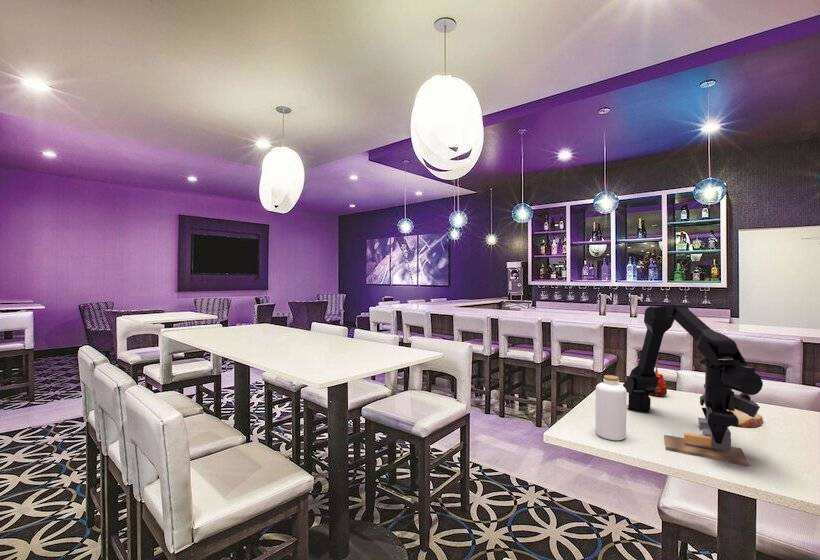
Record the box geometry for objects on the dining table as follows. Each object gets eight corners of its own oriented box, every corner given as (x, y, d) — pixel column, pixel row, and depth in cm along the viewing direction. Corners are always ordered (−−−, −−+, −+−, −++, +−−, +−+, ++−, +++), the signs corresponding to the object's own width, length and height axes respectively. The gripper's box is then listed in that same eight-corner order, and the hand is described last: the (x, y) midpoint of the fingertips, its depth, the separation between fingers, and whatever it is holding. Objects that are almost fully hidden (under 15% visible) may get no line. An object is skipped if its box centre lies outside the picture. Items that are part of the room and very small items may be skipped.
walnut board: (665, 449, 110) (665, 446, 110) (664, 437, 119) (664, 434, 119) (749, 466, 101) (749, 463, 101) (741, 451, 110) (741, 448, 110)
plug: (685, 443, 110) (685, 425, 110) (683, 437, 114) (683, 420, 114) (730, 451, 105) (730, 432, 105) (727, 445, 109) (727, 427, 109)
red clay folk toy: (643, 395, 161) (644, 358, 161) (647, 391, 166) (647, 355, 166) (665, 398, 156) (666, 361, 156) (668, 394, 161) (669, 358, 161)
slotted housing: (704, 442, 115) (704, 434, 115) (698, 424, 129) (698, 417, 129) (730, 447, 112) (731, 438, 112) (721, 428, 126) (721, 420, 126)
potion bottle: (614, 443, 114) (615, 381, 114) (589, 433, 121) (590, 375, 121) (632, 438, 118) (633, 378, 118) (607, 428, 125) (607, 372, 125)
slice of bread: (737, 409, 145) (737, 399, 145) (787, 428, 127) (787, 417, 127) (691, 410, 144) (691, 400, 144) (734, 429, 126) (734, 417, 126)
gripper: (765, 397, 96) (764, 461, 96) (748, 380, 112) (747, 434, 112) (708, 390, 102) (707, 450, 102) (700, 374, 118) (699, 426, 118)
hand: (717, 440), depth 108 cm, fingers open, 4 cm apart
